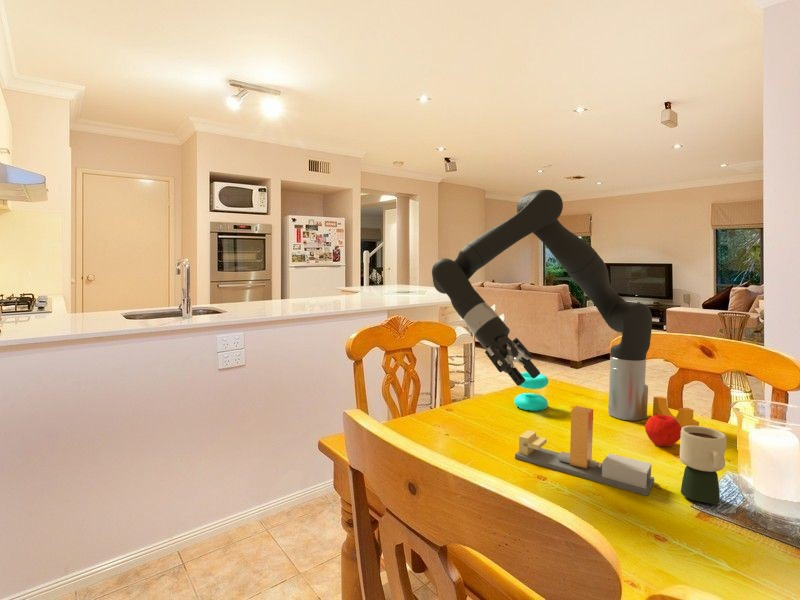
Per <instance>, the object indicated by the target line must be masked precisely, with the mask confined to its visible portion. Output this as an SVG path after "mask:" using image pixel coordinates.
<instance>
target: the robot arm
mask: <svg viewBox="0 0 800 600" xmlns="http://www.w3.org/2000/svg"><path fill="white" fill-rule="evenodd" d="M563 208H564V203H563V199H562V197H561V195H560V194H559V193H557V192H556V191H555V190H552V189H539V190H536V191H532V192H528V193H526V194H524V195H522V196H521V197H520V198H519V200H518V202H517V205H516V212H517V213H516V214H514V215H513V216H511V217H510V218H508V219H507V220H505V221H504V222H502V223H500V224H498V225H496V226H494V227H492V228H491V229H488V230H487V231H485V232H483V233H482V234H479V235H478V236H477V237H475V238H474V239H473V240H471V241H470V242H469V243H467V244H466V245H465V246H463V247H462V248H461V249H460V251H459V252H458V255H457V256H456V258H455V259H454V260H453V259H451V258H439V259H438V260H437V261H435V263H434V264H433V266H432V270H431V276H432V283H433V286H434V289H435V290H436V291H437V292H439V293H440V294H443V295H447V297H448V298H449V300H450V302H451V305H452V307H453V309H454V310H455V311H456V313H457V314H458V315H459V317H460V318H461V319H462V321H463V322H464V323H465V326H466V327H467V328H468V329H469V331H470V332H471V334H472V335H473V336H474V338H476V340H477V341H478V342H479V344H480V345H481V346H482V348H483V349H484V350H485V351H484V353H485V355H486V356H487V358H488V359H489V360H490V361H491V364H493V366H494V367H495V368H496V369H497V371H498V372H499V373H502V372H504V373H505V374H508V377H510V379H511V380H512V381H513V382H514V383H515V385H516V386H519V387H521V386H520V385H521V384H522V383H524V382H525V378H524V377H523V376H522V374H521V373H522V372H520V371H519V370H518V368H517V367H516V366H515V364H514V363H518V364H519V365H521V366H523V368H524V370H525V371H526V372H528V373H529V374H530V376H531V377H532V378H536V377H537V376H538V375H540V374H541V372H540V370H539V369H538V368H537V366H536V365H535V364H534V363H533V362H532V357H533V354H532V353H531V352H530V351H529V350H528V349H527V347H526V346H525V345H524V344H523V343H522V342H521V341H520V340H519V338H517V337H515V338H514V339H513V340H512V339H511V338H510V337H509V335H510V332H511V330H510V328H509V327H508V326H507V325H506V323H505V322H504V321H503V319H501V317H500V316H499V315H498V313H497V312H496V311H495V310H494V309H493V308H492V307H491V306H490V305H489V304H488V303H487V302H486V301H485V300H484V299H483V298H482V296H481V295H480V294H479V293H478V291H476V290H475V288H474V287H473V285H472V283H471V282H470V278H471V277H473V275H475V273H476V272H477V271H478V270H480V269H482V268H483V267H485V266H486V265H488V264H489V263H490V262H492V260H494V259H495V258H497V257H498V256H499V255H500V254H502V253H504V252H505V251H506V250H507V249H509V248H510V247H512V246H513V245H515V244H517V243H518V242H519V241H521V240H522V239H524V238H526V237H527V236H529V235H531V234H533V235H535V236H536V238H538V239H539V240H540V241H541V242H542V243H543V244H544V245H545V247H546V248H547V249H548V250H549V251H550V253H551V254H552V255H553V257H554V258H555V259H556V260H557V261H558V263H559V264H560V265H561V267H562V268H563V269H564V270H565V272H566V273H567V274H568V275H569V277H570V278H572V280H573V281H574V282H575V284H577V285H578V286H579V288H580V289H581V290H582V291H583V293H584V294H585V295H586V296H587V298H588V299H590V301H591V302H592V304H594V306H595V308H596V309H597V311H598V312H599V314H600V315H601V317H602V318H603V320H604V321H605V323H606V324H607V325H608V327H609V328H610V329H611V330H612V331H615V332H617V333H621V340H620V342H619V343H618V344H613V345H612V346H611V348H610V355H609V356H610V358H609V359H610V360H609V380H608V381H609V388H608V406H607V408H608V413H607V414H608V415H609V416H610V417H612V418H616V419H618V420H623V421H631V422H632V421H633V422H634V421H641V420H645V419H647V420H648V401H649V400H648V399H649V395H648V394H649V386H648V385H647V384H646V373H647V371H646V370H647V369H646V368H647V354H648V351H649V349H650V346H651V337H652V329H653V315H652V311H651V310H650V308H649V307H648V306H647V305H646V304H644V303H641V302H635V301H627V300H624V299H623V298H622V297H621V296H620V295H619V294H618V293H617V291H615V289H614V288H613V287H612V285H611V283H610V277H609V270H608V268H607V265H606V263H605V261H604V260H603V259H602V257H600V255H599V254H598V252H597V250H595V248H593V247H592V246H591V245H590V244H589V243H588V242H587V241H585V240H584V239H582V238H581V237H579V236H578V235H576V234H575V233H573V232H572V231H570V230H569V229H567V228H566V227H565V225H563V224H562V223H561V222H560V221H559V220H558V219H559V218H560V216H561V215H562V212H563V210H564V209H563Z"/></svg>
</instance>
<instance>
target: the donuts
mask: <svg viewBox="0 0 800 600" xmlns="http://www.w3.org/2000/svg"><path fill="white" fill-rule="evenodd" d="M520 373H521V374H522V376H523V377H524V378H525V382H524V383H522V384H521V385H520V386H519V387H521V388H524V389H529V390H540V389H544V388H545V387H547V385H548V384H549V379H548V376H546V375H544V374H542V373H540V375H538V376H537V377H536V378H532V377H531V376H530V374H529V373H528V372H527V371H526V372H520ZM513 402H514V405H515V406H516V407H517V408H518V407H519V409H520V410H523V411H528V410H530V411H531V412H539V410H540V411H543V410H545V409H547V407H548V405H549V402H548V400H547V398H546V397H545V396H543V395H541V394H537V393H533V392H527V393H526V392H524V393H520V394H517V395H516V396H515V397H514V401H513Z"/></svg>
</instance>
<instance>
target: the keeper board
mask: <svg viewBox="0 0 800 600" xmlns="http://www.w3.org/2000/svg"><path fill="white" fill-rule="evenodd" d="M518 437H519V438H518V441H519V442H518V451H517V452H516V453H515V454H514V459H515V460H516V459H517V460H519V461H523V462H526V463H530V464H533V465H536V466H540V467H544V468H547V469H550V470H554V471H556V472H557V471H558V472H561V473H565V474H568V475H572V476H574V477H575V476H576V477H579V478H582V479H586V480H589V481H593V482H596V483H600V484H604V485H607V486H611V487H614V488H617V489H620V490H624V491H627V492H630V493H631V492H632V493H636V494H639V495H642V496H645V497H648V496H649V494H650V492H651V490H652V488H653V486H654V483H655V477H653V476H652V463H651V462H646V461H643V460H640V459H639V460H638V459H634V458H631V457H627V456H621V455H618V454H614V453H608V454H607V455H606V456H605V458H604V459H603V460H602V462H601V463H602V469H599V468H592V467H588V468H587V469H585V468H581V467H577V466H574V465H570V463H567V462H563V461H559V460H558V454H560V453H561V452H559V451H558V452H557V451H554V450H550V449H546V448H544V447H543V446H544V445H547V438H545V437H541V436H538V435H537V431H534V430H530V429H528V430H526V431H524V432H523V433H522V434H521V435H519V436H518Z"/></svg>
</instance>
